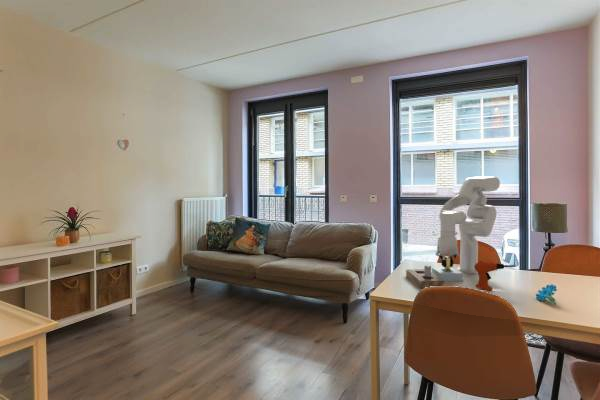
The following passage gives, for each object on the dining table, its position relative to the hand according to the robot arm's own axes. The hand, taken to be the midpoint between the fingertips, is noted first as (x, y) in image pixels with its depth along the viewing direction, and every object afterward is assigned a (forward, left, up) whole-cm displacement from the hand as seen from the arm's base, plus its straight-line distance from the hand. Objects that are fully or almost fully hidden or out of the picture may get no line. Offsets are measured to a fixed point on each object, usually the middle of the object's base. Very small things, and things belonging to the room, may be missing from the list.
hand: (447, 266), depth 193 cm
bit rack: (+16, +8, -7) cm, 20 cm away
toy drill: (-15, +20, -8) cm, 26 cm away
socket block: (0, 0, -7) cm, 7 cm away
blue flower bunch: (-30, +36, -8) cm, 47 cm away
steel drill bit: (+16, +13, -6) cm, 22 cm away
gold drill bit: (0, 0, -5) cm, 5 cm away
